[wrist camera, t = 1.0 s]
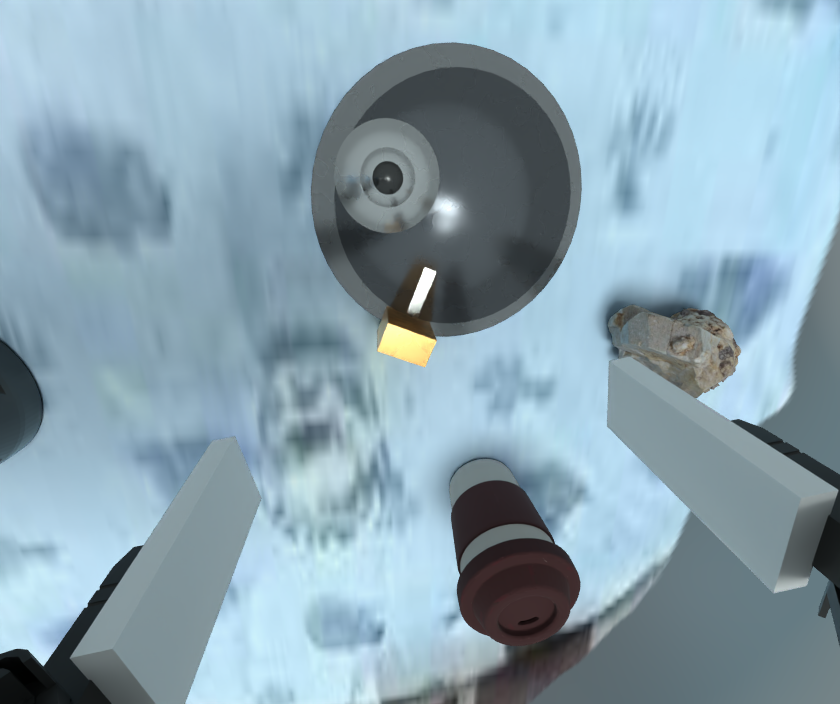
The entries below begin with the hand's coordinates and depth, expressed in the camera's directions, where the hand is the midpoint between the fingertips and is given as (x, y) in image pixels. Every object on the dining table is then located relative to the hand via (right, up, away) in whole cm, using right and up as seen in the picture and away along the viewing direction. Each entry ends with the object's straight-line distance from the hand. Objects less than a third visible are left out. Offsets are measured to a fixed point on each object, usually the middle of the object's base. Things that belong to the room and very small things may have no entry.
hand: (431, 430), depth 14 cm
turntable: (+2, +13, +18) cm, 22 cm away
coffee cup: (+6, -12, +30) cm, 33 cm away
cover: (-3, +15, +14) cm, 21 cm away
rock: (+22, +4, +25) cm, 33 cm away
